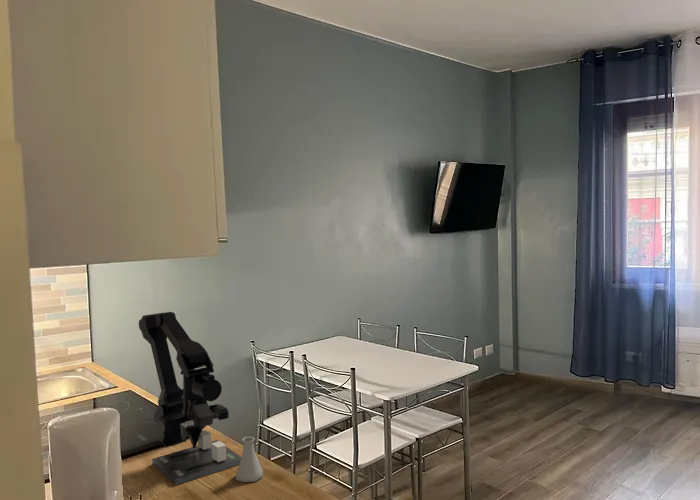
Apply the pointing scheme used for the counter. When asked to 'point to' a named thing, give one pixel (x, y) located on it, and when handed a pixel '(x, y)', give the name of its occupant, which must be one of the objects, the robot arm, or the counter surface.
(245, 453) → the flask
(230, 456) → the dark grey flat plate
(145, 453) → the counter surface
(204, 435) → the block
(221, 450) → the block
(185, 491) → the counter surface
